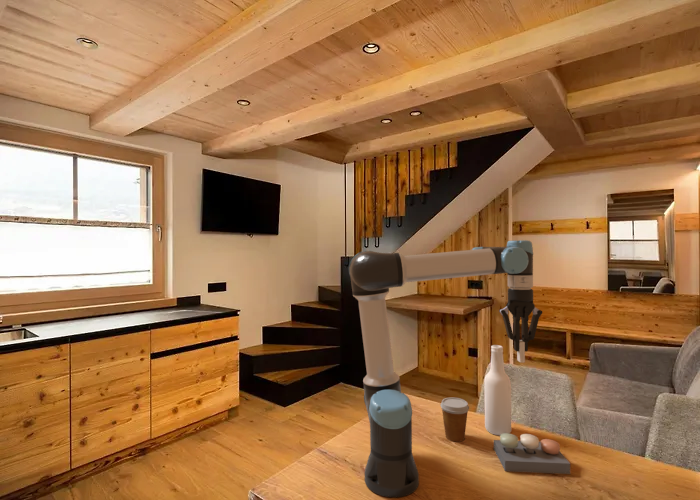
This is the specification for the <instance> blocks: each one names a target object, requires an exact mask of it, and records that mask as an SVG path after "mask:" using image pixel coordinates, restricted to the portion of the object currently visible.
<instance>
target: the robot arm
mask: <svg viewBox="0 0 700 500" xmlns="http://www.w3.org/2000/svg"><path fill="white" fill-rule="evenodd" d="M533 250H534V247H533V243H532V241H530V240H527V239H525V240H523V239H522V240H508V241H507V243H506V246H477V247H472V248H471V249H468V250H467V249H466V250H454V251H447V252H446V251H442V252H432V253H431V252H430V253H422V254H410V255H402V253H400V252H390V253H389V252H378V251H372V250H364V251H359V252H358V253H357V254H355V255H354V256H353V258H352V259H351V260H350V262H349V264H348V274H349V277H350V281H351V282H350V284H351V289H352V290H351V291H352V296H353V298H355V300H357V301H358V310H359V318H360V327H361V335H362V343H363V351H364V360H365V368H366V375H365V376H364V377H363V380H362V382H363V383H362V385H363V391H364V395H363V400H364V401H363V402H364V405H365V407H366V411H367V412H366V413H367V416H368V420H369V430H370V431H369V432H370V434H369V435H370V437H369V438H370V440H369V441H370V453H369V455H368V458H367V463H366V465H365V468H364V482H365V485H366V487H367V489H368V490H370V491H371V492H373V494H377V495H379V496H381V497H385V498H401V497H405V496H409V495H411V494H412V493H414V492H415V491H416V490H417V489H418V487H419V484H420V478H419V475H420V474H419V471H418V467H417V465H416V461H415V459H414V456H413V435H412V434H413V433H412V432H413V431H412V430H413V429H412V428H413V426H412V425H413V423H412V421H413V419H412V418H413V417H412V416H413V408H412V402H411V399H410V398H409V396H408V395H406V393H403V392H402V389H401V379H400V376H399V374H398V373H397V372H396V371H395V368H394V361H393V353H392V345H391V337H390V327H389V319H388V309H387V303H386V297H387V295H388V294H389V293H390V288H391V289H392V288H398V287H399V288H400V287H403V286H404V285H405V284H406V283H415V282H424V281H425V282H426V281H433V280H434V281H435V280H445V279H456V278H464V277H465V278H468V277H475V276H477V277H478V276H487V275H499V274H507V287H508V289H507V302H506V306H505V307H504V308H500V309H499V310H498V311H499V313H500V315H501V316H502V320H503V323H504V328H505V331H506V335H507V338H509V340H512V341H513V349H514V351H515V352H516V355H517V356H516V360H517V361H518V362H519V363H520V364H521V363H523V364H524V363H526V356H525V354H526V352H528V351H529V350H528V349H529V347H528V346H529V345H528V343H529V342H530V341H533V340H534V339H535V337H536V332H537V329H538V328H537V327H538V324H539V321H540V320H539V319H540V317H541V316H542V314H543V311H542V310H541V309H539V308H537V307H536V305H535V303H534V289H533V287H534V252H533ZM509 313H510V314H511V315H512V319H513V320H512V323H513V327H512V326H511V322H510V317H509V315H508V314H509ZM531 314H532V316H531ZM530 316H531V319H530V318H529V317H530ZM529 320H530V324H529ZM520 321H521V322H520ZM520 327H521V328H520ZM520 333H521V335H520Z"/></svg>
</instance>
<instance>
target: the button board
mask: <svg viewBox="0 0 700 500" xmlns="http://www.w3.org/2000/svg"><path fill="white" fill-rule="evenodd" d="M493 450H494V452H495V455H496V456H497V459H498V460H499V462H500V464H501V466H502V467H503V468H502V469H504V471H505V472H515V473H520V472H521V473H535V474H536V473H540V474H541V473H542V474H559V475H571V462H570V461H569V460H568V459H567V458H566V457H565V456H564V454H563V453H562V452H561V451H560V453H559V454H554V455H550V454H546V452H544V451H543V450H542V449H541V441H539V447H538V448H536V449H534V454H526V447H524V446H522V445H521V440H518V447H516V448H513V453H506V452H505V446H503V445H502V444H501V443H500V439H493Z"/></svg>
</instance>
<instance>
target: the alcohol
mask: <svg viewBox="0 0 700 500" xmlns="http://www.w3.org/2000/svg"><path fill="white" fill-rule="evenodd" d="M490 348H491V349H490V352H491V354H490V355H491V356H490V369H489V370H488V372H487V373H486V374H485V377H484V382H483V383H484V384H483V385H484V386H483V387H484V388H483V389H484V390H483V391H484V427H485V429H486V431H487V432H489V433H490V434H491V435H495V436H499V437H500V435H501V434H503V433H509V434H511V432H512V383H511V378H510V376H509V375H508V374H507V372H506V371H505V363H504V350H503V349H504V347H503V346H502V345H498V344H493V345H491V346H490Z"/></svg>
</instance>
